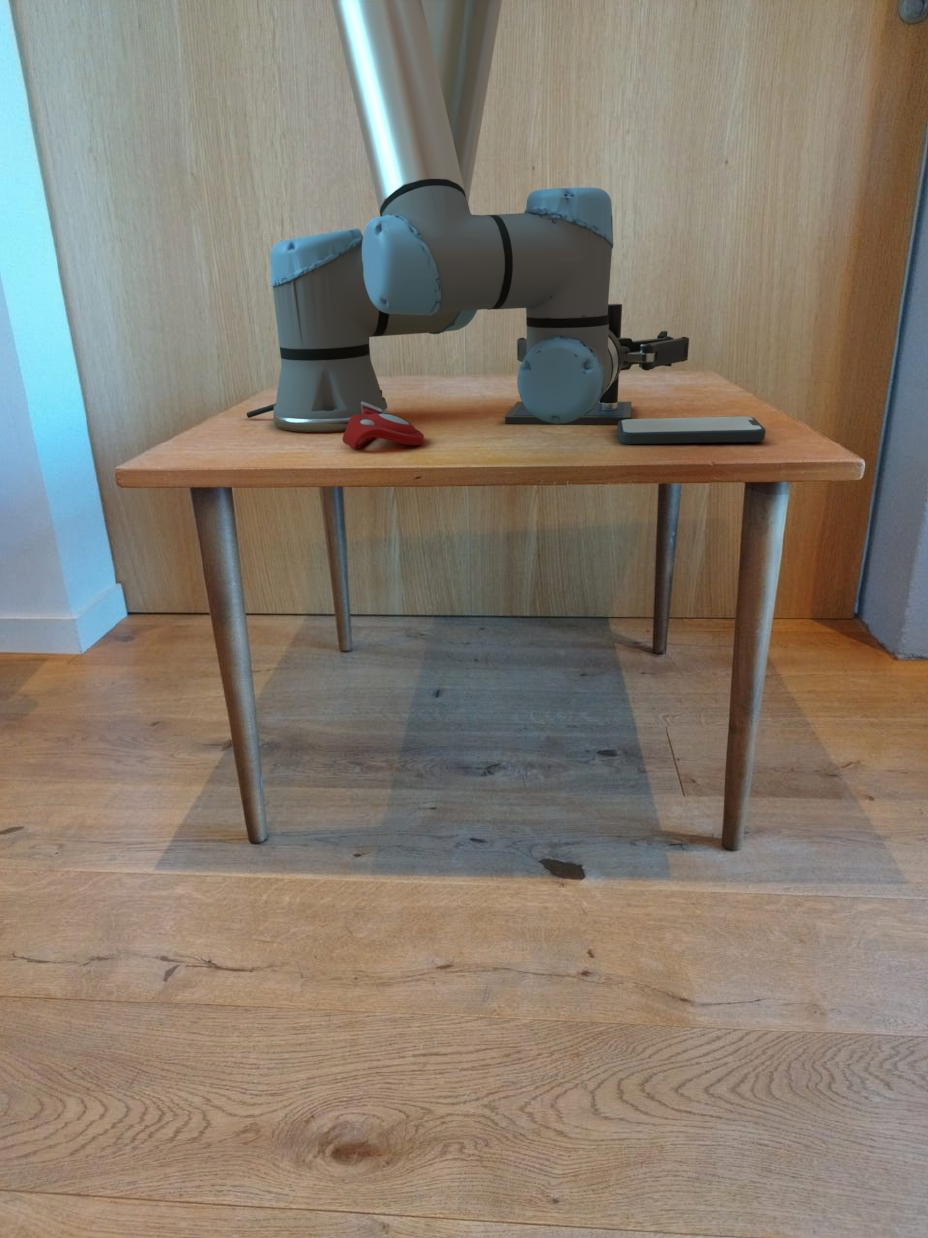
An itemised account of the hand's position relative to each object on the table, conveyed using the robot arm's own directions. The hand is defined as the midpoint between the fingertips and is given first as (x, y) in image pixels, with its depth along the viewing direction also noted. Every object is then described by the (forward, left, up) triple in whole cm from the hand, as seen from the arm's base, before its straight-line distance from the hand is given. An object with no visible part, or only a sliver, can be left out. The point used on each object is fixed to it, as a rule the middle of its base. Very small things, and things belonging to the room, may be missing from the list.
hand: (609, 342), depth 104 cm
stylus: (0, +1, -8) cm, 9 cm away
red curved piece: (-16, -26, -10) cm, 32 cm away
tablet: (-5, -1, -9) cm, 11 cm away
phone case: (+14, -6, -10) cm, 18 cm away
